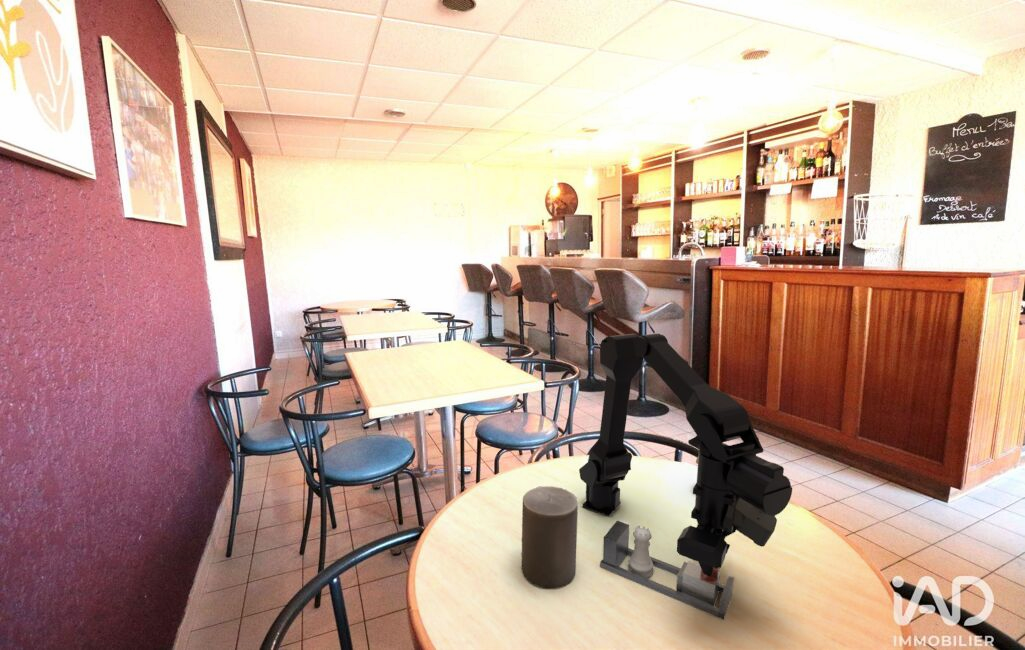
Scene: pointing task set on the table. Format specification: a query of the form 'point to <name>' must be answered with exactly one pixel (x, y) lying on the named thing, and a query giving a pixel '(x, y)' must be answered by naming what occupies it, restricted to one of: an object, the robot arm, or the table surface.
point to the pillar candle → (549, 536)
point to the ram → (698, 583)
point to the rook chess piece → (641, 553)
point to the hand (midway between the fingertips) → (709, 569)
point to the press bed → (619, 549)
